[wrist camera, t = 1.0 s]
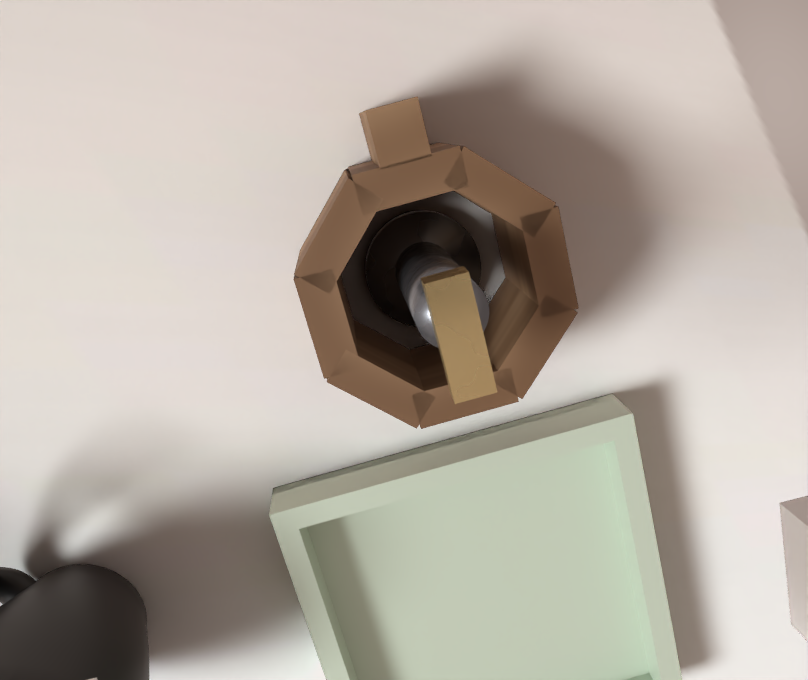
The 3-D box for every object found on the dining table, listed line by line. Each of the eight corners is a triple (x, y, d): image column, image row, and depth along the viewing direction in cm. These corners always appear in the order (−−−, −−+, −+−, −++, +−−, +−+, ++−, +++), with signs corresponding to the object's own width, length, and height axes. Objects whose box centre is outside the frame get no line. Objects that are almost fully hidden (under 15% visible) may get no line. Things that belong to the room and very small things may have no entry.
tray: (273, 488, 35) (269, 515, 32) (612, 393, 35) (633, 413, 33) (366, 761, 39) (368, 802, 37) (666, 675, 39) (687, 710, 37)
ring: (264, 138, 31) (251, 141, 25) (496, 76, 31) (530, 66, 25) (343, 399, 34) (346, 449, 29) (552, 341, 34) (592, 381, 29)
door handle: (352, 227, 32) (360, 267, 23) (462, 197, 32) (516, 224, 23) (383, 338, 33) (403, 418, 24) (489, 309, 33) (549, 377, 24)
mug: (12, 445, 33) (-110, 567, 24) (213, 615, 36) (173, 781, 27) (-117, 564, 34) (-281, 725, 25) (91, 720, 37) (12, 914, 28)
